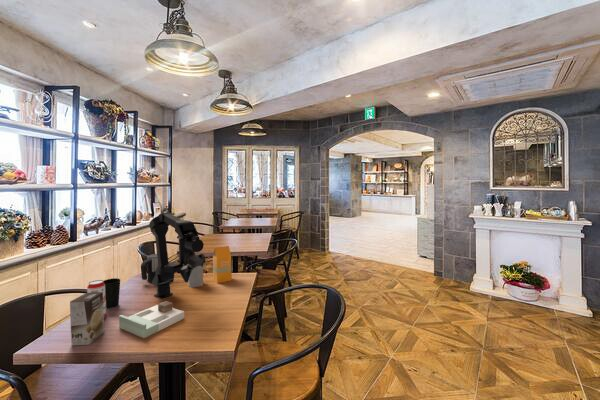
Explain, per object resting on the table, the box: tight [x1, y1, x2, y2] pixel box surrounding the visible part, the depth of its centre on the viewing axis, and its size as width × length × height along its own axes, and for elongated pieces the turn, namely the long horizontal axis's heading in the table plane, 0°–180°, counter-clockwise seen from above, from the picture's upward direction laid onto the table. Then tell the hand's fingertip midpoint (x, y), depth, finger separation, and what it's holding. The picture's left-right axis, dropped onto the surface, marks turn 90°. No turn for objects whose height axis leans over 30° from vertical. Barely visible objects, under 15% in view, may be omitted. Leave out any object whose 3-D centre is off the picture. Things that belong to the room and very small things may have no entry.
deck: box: [118, 304, 185, 339], centre depth 119 cm, size 16×18×5 cm
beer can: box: [86, 279, 107, 319], centre depth 122 cm, size 6×6×16 cm
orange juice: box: [212, 245, 233, 284], centre depth 171 cm, size 8×9×20 cm
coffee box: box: [69, 292, 105, 346], centre depth 107 cm, size 9×6×16 cm
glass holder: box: [187, 263, 205, 288], centre depth 166 cm, size 9×14×15 cm, turn 21°
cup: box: [103, 277, 121, 310], centre depth 135 cm, size 8×8×12 cm
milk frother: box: [140, 253, 158, 283], centre depth 168 cm, size 14×16×15 cm
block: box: [157, 300, 174, 313], centre depth 124 cm, size 4×4×3 cm
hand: (186, 282), depth 133 cm, fingers closed
